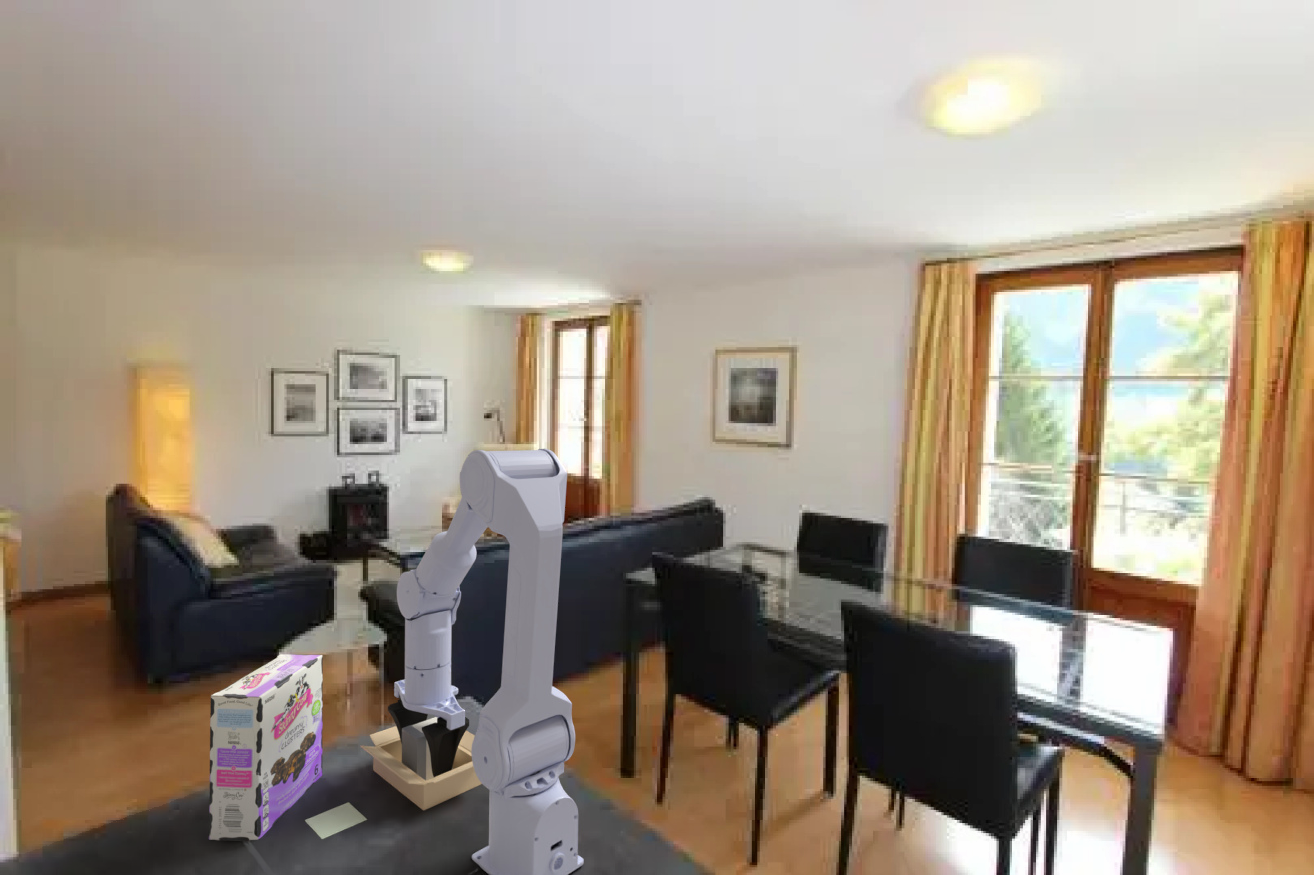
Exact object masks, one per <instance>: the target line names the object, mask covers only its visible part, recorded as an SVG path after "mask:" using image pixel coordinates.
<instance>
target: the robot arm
mask: <svg viewBox="0 0 1314 875" xmlns="http://www.w3.org/2000/svg"><path fill="white" fill-rule="evenodd" d="M567 480H568V472H567V470H566V468H565V467H564V465H563V464H562V462H561V460H560V459H559V457H558V456H557V454H556V453H555V452H554V451H553V450H550V449H549V448H538V449H532V450H531V449H528V450H527V449H526V450H519V449H518V450H484V449H474V450H472V451H470V453H469V454H468V455H467V457H466V458H465V460H464V461H463V463H462V466H461V470H460V471H459V487H460V488H459V489H460V495H461V498H460V500H459V504H458V506H457V508H456V510H455V513H454V515H453V517H452V520H451V522H450V524H449V527H448V529H447V530H446V531H442V532H440V533H437V534H435V536H434V537H433V538H432V540H431V542H430V543H429V545H428V548H427V549H426V550H425V553H424V554H423V555H422V558H421V560H420V561H419V563H418V565H417V567H416V568H415V569H410V571H404V572H402V573H401V574H400V576H399V579H398V581H397V585H396V601H397V605H398V609H399V611H400V613H401V615H402V616H403V618H404V679H400V680H398V681H395V682H394V685H393V687H394V688H393V691H394V694H393V695H394V697H396V698H397V702H394V703H391V704H389V705H388V706H387V711H388V713H389V714H390V716H391V717H392V719H393V721H394V723H395V726H397V729H398V732H399V736H400V740H401V744H402V728H404V727H407V726H410V725H414V724H417V723H420V722H423V721H426V720H428V717H429V716H428V715H430V716H434V717H437V723H436V722H435V723H432V724H430V725H427V726H424V727H422V732H423V733H424V735H425V737H426V740H427V742H428V746H429V750H430V756H431V767H432V773H433V777H436V776H439V775H441V774H443V773H446V772H448V771H450V770H452V767H453V763H454V759H455V755H456V752H457V749H458V746H459V743H460V741H461V739H462V737H463V735H464V733H465V731H468V729H469V727H470V719H469V718H468V717H466V710H465V709H464V708H462V707H461V706H460V703H459V702H458V701H457V699H456V696H457V695H458V694H459V688H458V687H456V686H455V685H452V626H453V625H455V623H456V621H457V610H458V608H459V606H460V603H461V598H462V591H461V590H460V588H461V587H460V585H461V584H462V582H463V580H465V579H464V578H465V577H466V576H467V574H468V572H469V571H470V569H471V568H472V566H473V564H474V563H475V561H476V559H477V555H478V554H477V548H476V546H475V544H476V543H477V541H478V540H479V539H480V537H482V535H483V534H484V533H485V531H486V529H489V530H490V531H491V532H493V533H496V534H500V535H501V536H504V537H505V539H506V541H507V542H508V544H509V553H508V568H507V569H508V571H507V583H506V584H507V585H506V586H507V587H506V599H505V600H506V602H505V617H504V618H505V619H504V633H503V649H502V650H503V652H502V666H501V683H500V688H498V690H497V692H496V693H494V695H493V696H492V697H491V698H490V699H489V701H487V702H486V704H485V705H484V706H483V708H482V709H481V710H480V711H479V716H478V717H479V718H478V719H479V720H478V725H477V726H478V727H477V728H476V729H477V730H476V732H475V734H474V735H475V736H474V740H473V743H472V751H471V754H472V762H473V767H474V770H475V773H476V775H477V777H478V779H479V780H480V782H481V783H482V784H481V785H482V786H484V787H485V788H487V790H489V794H488V796H489V798H488V799H489V800H488V801H489V802H488V803H489V806H488V809H489V810H488V811H489V812H488V813H489V815H488V845H486V846H485V847H482V849H479V850H478V851H476V852H475V853H473V854H471V859H472V861H473V862H474V863H476V864H477V865H478V866H479V867H480V868H481V870H483V871H484V872H486V873H487V874H488V875H569V874H571V873H572V872H574V871H576V870H577V869H579V868H580V867H582V866H583V865H584V858H583V857H581V856H580V855H579V809H578V806H577V804H576V802H575V801H574V799H573V798H572V797H570V795H568V793H567V792H566V791H565V790H564V788H563V785H562V784H561V782H560V778H559V776H560V775H562V774H564V773H565V762H567V761H568V760H570V758H571V757H572V755H573V754H574V751H575V746H576V745H575V744H576V731H575V730H576V729H575V726H574V723H573V717H572V712H573V711H572V709H573V703H572V701H571V700H570V699H569V698H568V696H567V695H566V694H565V693H564V692H563V691H561V690H560V689H558V688H556V687H555V686H553V678H554V663H555V646H556V634H557V620H558V606H559V604H558V603H559V590H560V589H559V588H560V576H561V563H562V562H561V561H562V560H561V559H562V546H563V523H564V522H565V513H566V512H565V511H566V508H565V507H566V496H567V483H568V482H567Z"/></svg>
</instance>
